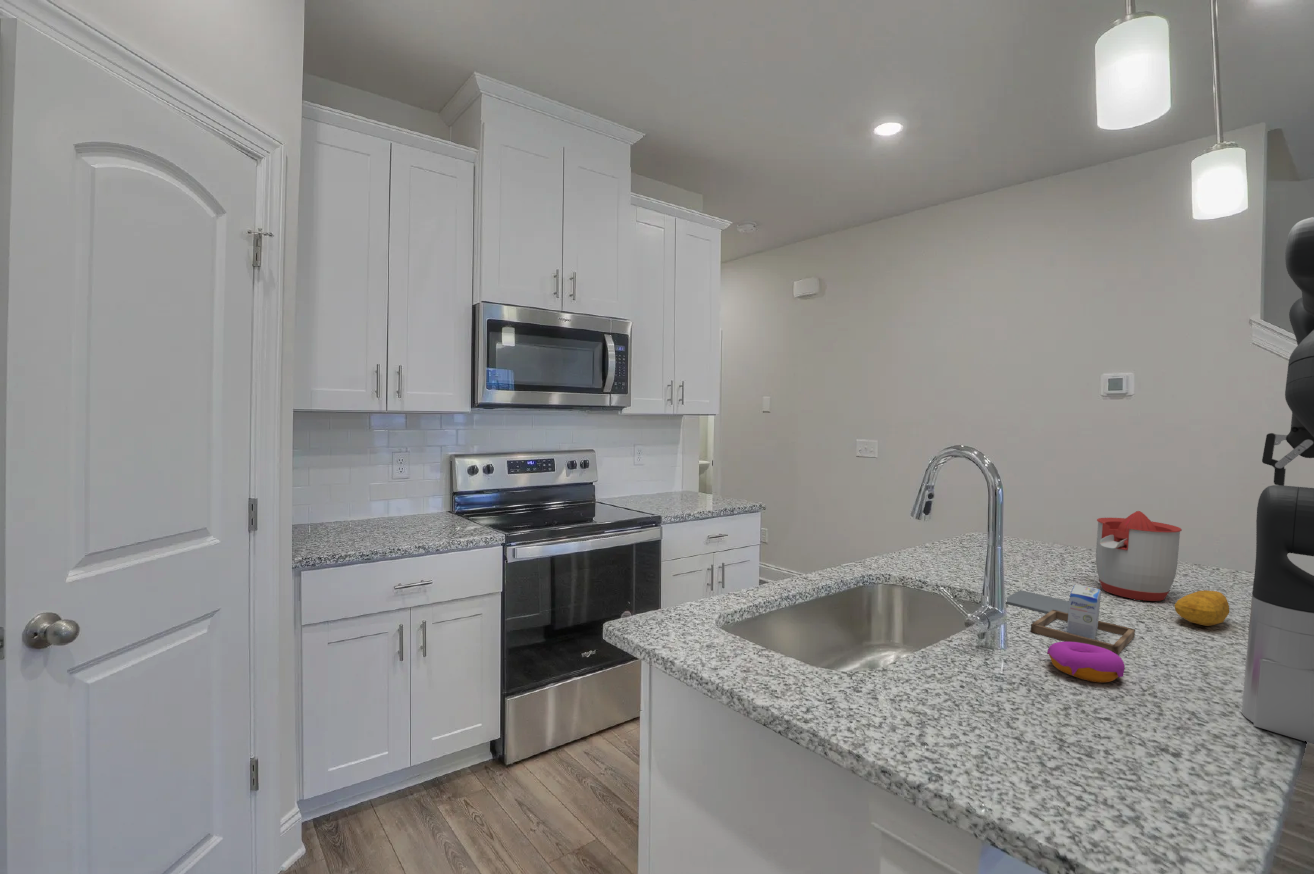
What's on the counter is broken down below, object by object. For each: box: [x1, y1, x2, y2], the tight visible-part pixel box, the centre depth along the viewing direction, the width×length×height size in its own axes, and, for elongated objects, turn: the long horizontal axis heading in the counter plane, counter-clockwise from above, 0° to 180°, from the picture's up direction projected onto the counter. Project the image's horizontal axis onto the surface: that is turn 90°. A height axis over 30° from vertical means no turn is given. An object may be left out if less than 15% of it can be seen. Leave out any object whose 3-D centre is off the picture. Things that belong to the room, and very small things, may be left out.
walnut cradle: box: [1030, 610, 1136, 656], centre depth 116 cm, size 14×14×2 cm
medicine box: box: [1066, 584, 1102, 640], centre depth 116 cm, size 8×4×9 cm, turn 141°
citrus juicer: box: [1095, 510, 1183, 602], centre depth 142 cm, size 16×17×20 cm
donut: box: [1047, 641, 1126, 684], centre depth 99 cm, size 10×10×4 cm
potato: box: [1173, 589, 1230, 627], centre depth 124 cm, size 8×14×7 cm, turn 123°
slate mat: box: [1006, 589, 1069, 615], centre depth 133 cm, size 12×12×1 cm
